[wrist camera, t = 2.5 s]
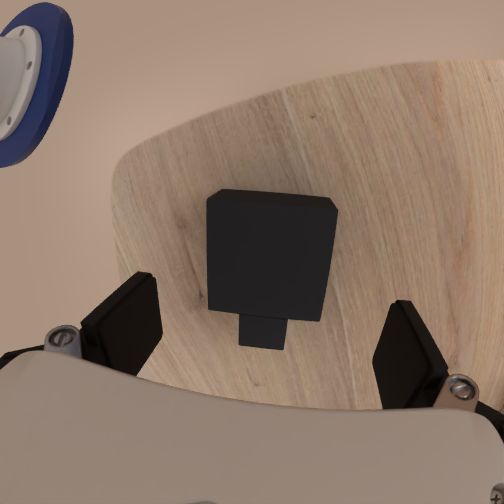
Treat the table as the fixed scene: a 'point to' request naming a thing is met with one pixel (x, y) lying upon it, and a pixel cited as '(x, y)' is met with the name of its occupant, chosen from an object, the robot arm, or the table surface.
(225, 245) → the pad
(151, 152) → the table surface
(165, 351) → the table surface
